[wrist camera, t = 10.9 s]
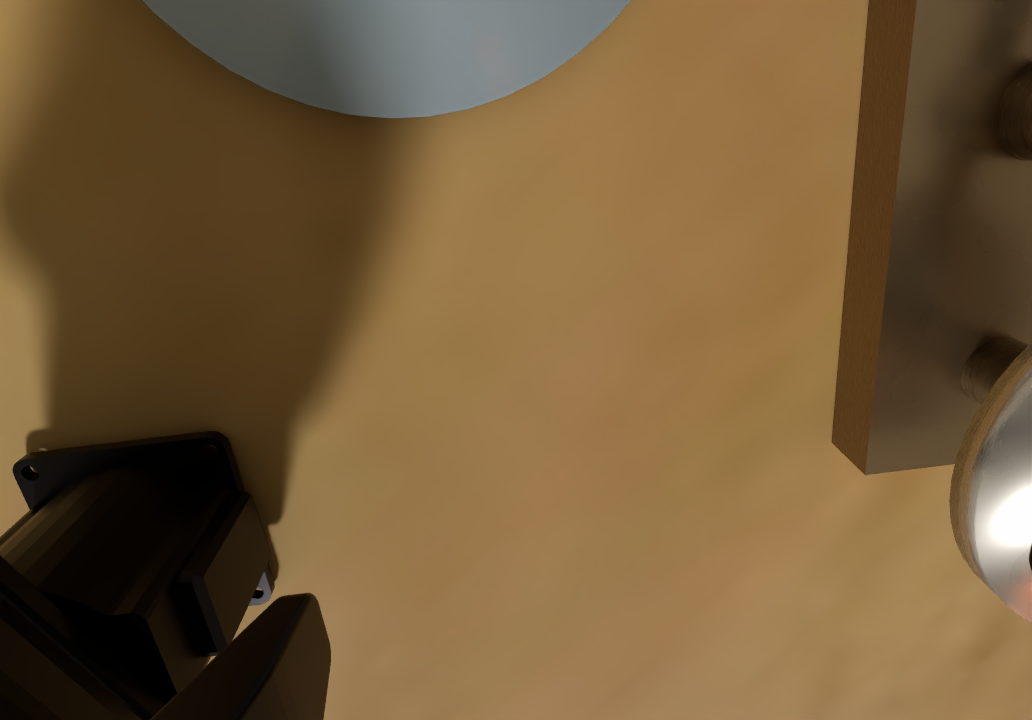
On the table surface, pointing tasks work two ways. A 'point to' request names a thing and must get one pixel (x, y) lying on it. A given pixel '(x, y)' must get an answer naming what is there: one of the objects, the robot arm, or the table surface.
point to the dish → (390, 47)
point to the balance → (946, 271)
